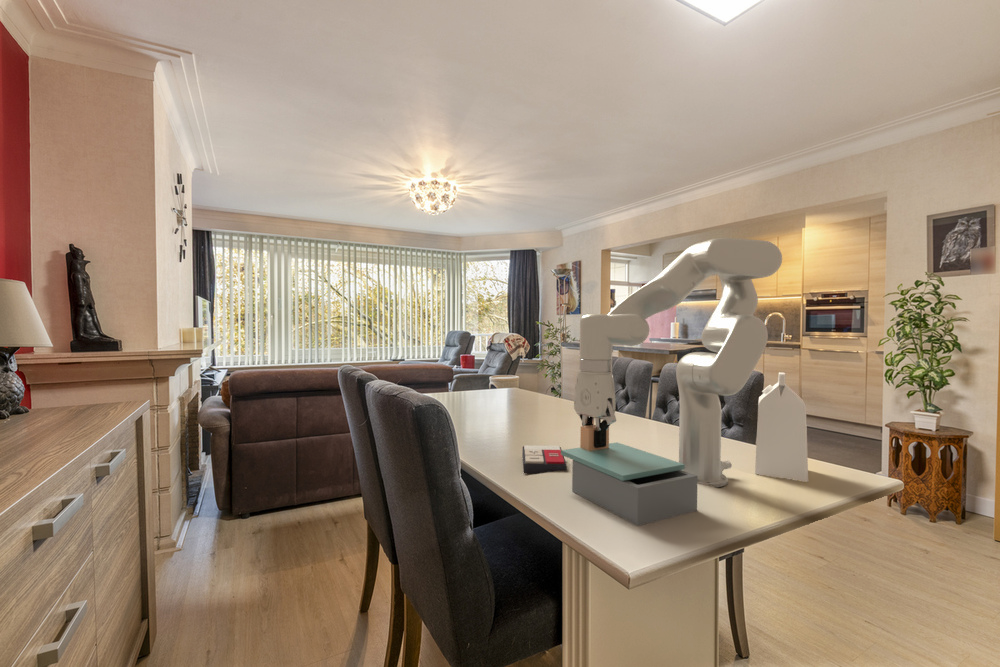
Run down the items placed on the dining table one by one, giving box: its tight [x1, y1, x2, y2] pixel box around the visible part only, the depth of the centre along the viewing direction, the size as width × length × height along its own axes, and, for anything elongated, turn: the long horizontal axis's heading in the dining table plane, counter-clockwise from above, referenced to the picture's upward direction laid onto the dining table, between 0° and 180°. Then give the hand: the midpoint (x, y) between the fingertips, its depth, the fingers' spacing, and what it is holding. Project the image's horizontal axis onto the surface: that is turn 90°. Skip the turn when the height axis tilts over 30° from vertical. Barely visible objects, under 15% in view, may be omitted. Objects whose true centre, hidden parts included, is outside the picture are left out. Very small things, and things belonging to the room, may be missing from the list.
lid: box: [561, 424, 685, 481], centre depth 102 cm, size 17×20×6 cm
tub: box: [571, 460, 698, 527], centre depth 98 cm, size 16×20×8 cm
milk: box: [754, 371, 809, 483], centre depth 122 cm, size 12×12×26 cm
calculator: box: [521, 444, 568, 475], centre depth 126 cm, size 11×4×15 cm
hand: (594, 444), depth 109 cm, fingers closed on lid, 3 cm apart
